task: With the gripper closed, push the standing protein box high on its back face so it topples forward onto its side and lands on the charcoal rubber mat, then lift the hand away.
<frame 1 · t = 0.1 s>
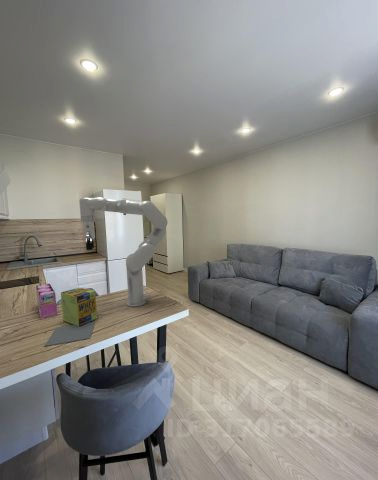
hand: (90, 248, 124), 37 cm above the worktop, tool pointing down, fingers open, 9 cm apart
rubber mat: (72, 333, 100), on the worktop
gum box: (47, 310, 127), on the worktop
protein box: (80, 319, 113), on the worktop, touching rubber mat
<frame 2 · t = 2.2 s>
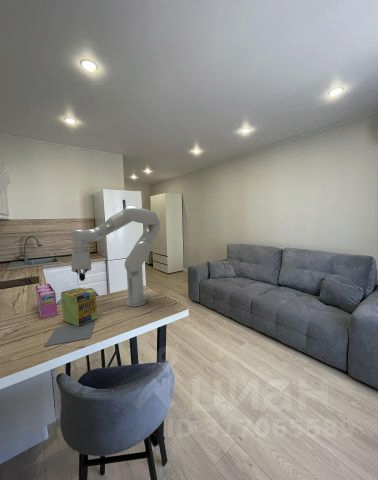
hand: (82, 280, 127), 17 cm above the worktop, tool pointing down, fingers closed
nothing on the worktop moved.
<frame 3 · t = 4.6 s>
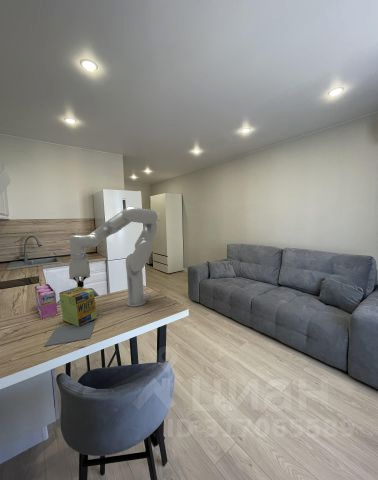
hand: (80, 288, 121), 15 cm above the worktop, tool pointing down, fingers closed
protein box: (80, 319, 113), on the worktop, touching gripper, rubber mat
everything else where it was.
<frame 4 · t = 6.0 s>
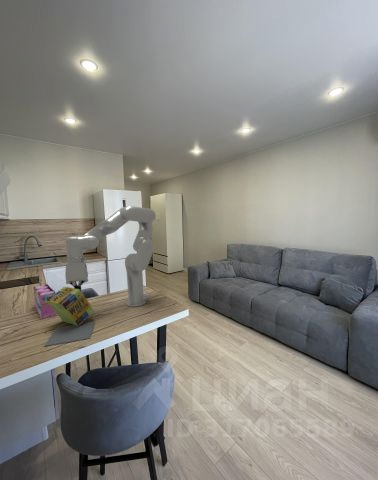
hand: (78, 293, 113), 14 cm above the worktop, tool pointing down, fingers closed
protein box: (79, 316, 113), point 2 cm above the worktop, touching gripper, rubber mat
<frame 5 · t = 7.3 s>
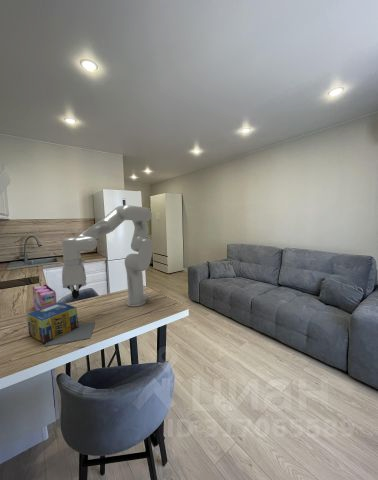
hand: (75, 297, 107), 14 cm above the worktop, tool pointing down, fingers closed
protein box: (69, 313, 108), point 6 cm above the worktop, touching rubber mat
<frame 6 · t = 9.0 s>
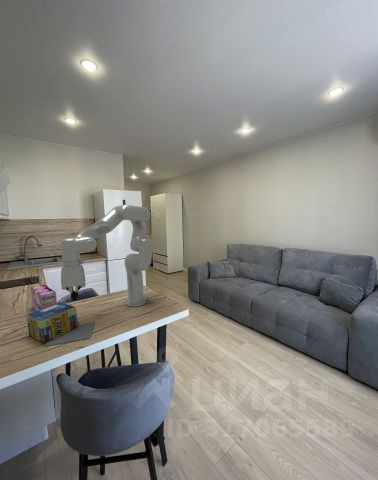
hand: (75, 299, 105), 14 cm above the worktop, tool pointing down, fingers closed
protein box: (69, 313, 108), point 6 cm above the worktop, touching rubber mat
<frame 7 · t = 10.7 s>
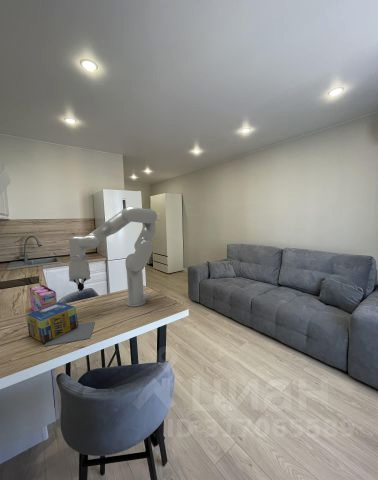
hand: (81, 290, 119), 14 cm above the worktop, tool pointing down, fingers closed
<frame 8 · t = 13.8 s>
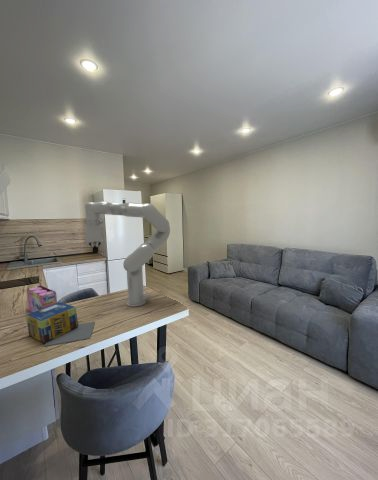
hand: (95, 253, 128), 33 cm above the worktop, tool pointing down, fingers closed
at the end: protein box tilted 92°; protein box touching rubber mat, worktop; protein box inside the target area (5.7 cm from its centre), point 5.9 cm above the worktop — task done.
